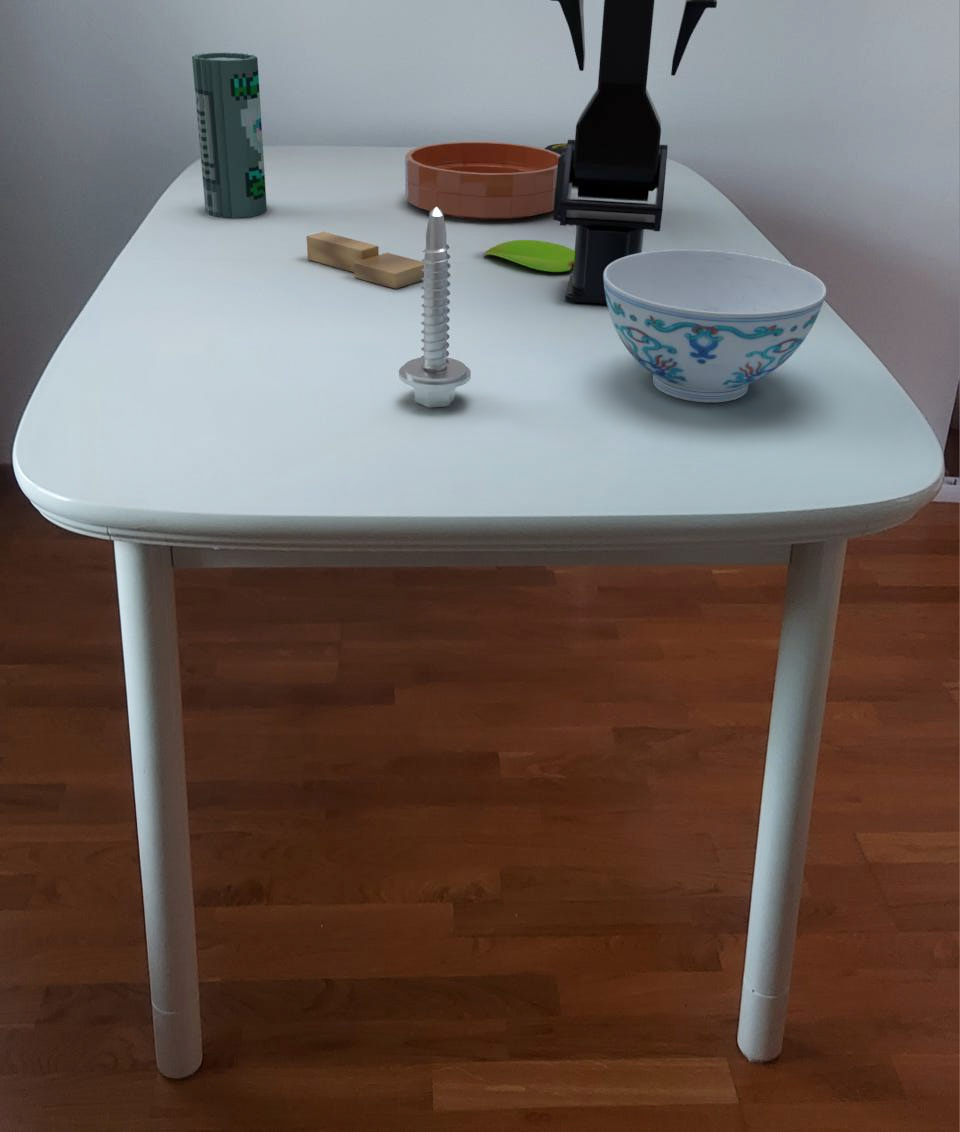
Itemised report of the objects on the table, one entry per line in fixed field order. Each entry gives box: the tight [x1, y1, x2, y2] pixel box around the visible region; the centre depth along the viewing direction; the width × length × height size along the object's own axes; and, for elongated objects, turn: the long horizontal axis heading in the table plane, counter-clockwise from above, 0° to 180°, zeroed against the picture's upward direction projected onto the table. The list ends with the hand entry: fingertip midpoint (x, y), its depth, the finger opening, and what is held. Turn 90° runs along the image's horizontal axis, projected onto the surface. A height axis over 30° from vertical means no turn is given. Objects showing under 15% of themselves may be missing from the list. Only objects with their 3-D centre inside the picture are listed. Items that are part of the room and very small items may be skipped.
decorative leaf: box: [483, 239, 575, 273], centre depth 110 cm, size 8×9×1 cm
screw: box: [398, 207, 472, 409], centre depth 77 cm, size 13×5×5 cm
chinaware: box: [603, 248, 827, 404], centre depth 82 cm, size 15×15×8 cm
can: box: [191, 52, 268, 219], centre depth 120 cm, size 6×6×15 cm
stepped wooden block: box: [306, 231, 424, 290], centre depth 106 cm, size 12×4×2 cm, turn 51°
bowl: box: [404, 141, 560, 221], centre depth 128 cm, size 17×17×5 cm
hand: (627, 72), depth 119 cm, fingers open, 9 cm apart
